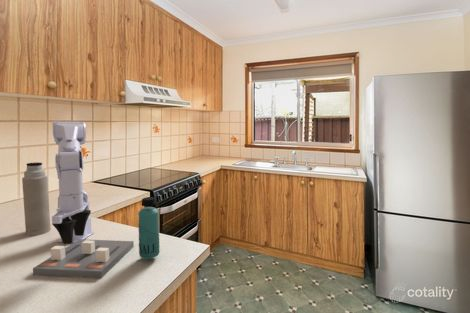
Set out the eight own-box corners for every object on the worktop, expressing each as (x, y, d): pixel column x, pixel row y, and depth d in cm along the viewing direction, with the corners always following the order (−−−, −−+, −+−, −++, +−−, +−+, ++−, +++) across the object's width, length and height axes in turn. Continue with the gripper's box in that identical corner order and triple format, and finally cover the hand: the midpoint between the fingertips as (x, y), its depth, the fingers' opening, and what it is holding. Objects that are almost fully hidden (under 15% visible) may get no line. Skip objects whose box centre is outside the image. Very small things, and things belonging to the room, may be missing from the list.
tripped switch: (86, 250, 84) (85, 240, 84) (95, 251, 84) (94, 240, 84) (82, 253, 82) (81, 242, 82) (91, 254, 82) (90, 243, 82)
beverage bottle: (154, 252, 89) (152, 194, 87) (164, 259, 84) (163, 198, 82) (135, 258, 84) (133, 197, 82) (144, 266, 80) (143, 201, 78)
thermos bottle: (20, 235, 101) (15, 164, 98) (34, 228, 109) (29, 161, 106) (43, 235, 102) (38, 164, 99) (54, 227, 110) (50, 161, 107)
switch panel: (79, 244, 94) (78, 229, 93) (133, 246, 93) (133, 231, 92) (33, 275, 74) (32, 256, 74) (101, 278, 73) (100, 259, 72)
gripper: (72, 187, 82) (74, 229, 83) (38, 199, 67) (42, 250, 69) (95, 187, 82) (96, 229, 83) (66, 200, 68) (69, 250, 69)
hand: (73, 239), depth 76 cm, fingers open, 5 cm apart
